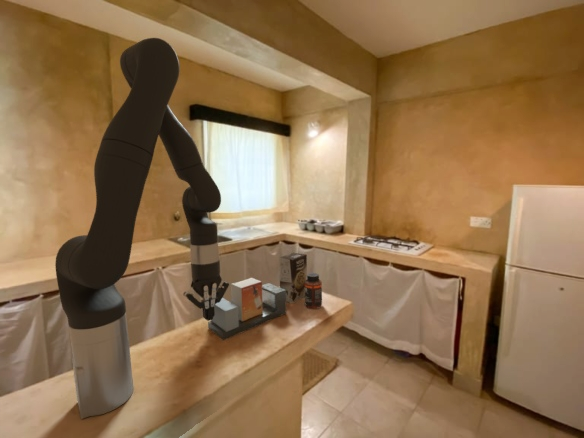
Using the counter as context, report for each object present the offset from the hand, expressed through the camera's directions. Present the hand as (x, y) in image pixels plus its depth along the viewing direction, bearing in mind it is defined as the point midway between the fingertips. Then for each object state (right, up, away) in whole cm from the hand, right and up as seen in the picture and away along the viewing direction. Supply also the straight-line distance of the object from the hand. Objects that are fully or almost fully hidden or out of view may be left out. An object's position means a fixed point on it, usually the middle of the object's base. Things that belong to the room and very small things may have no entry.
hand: (208, 319), depth 79 cm
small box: (+9, -2, +9) cm, 13 cm away
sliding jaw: (+4, -2, +3) cm, 6 cm away
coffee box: (+24, -2, +26) cm, 36 cm away
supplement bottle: (+31, -2, +19) cm, 36 cm away
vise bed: (+9, -4, +9) cm, 13 cm away
